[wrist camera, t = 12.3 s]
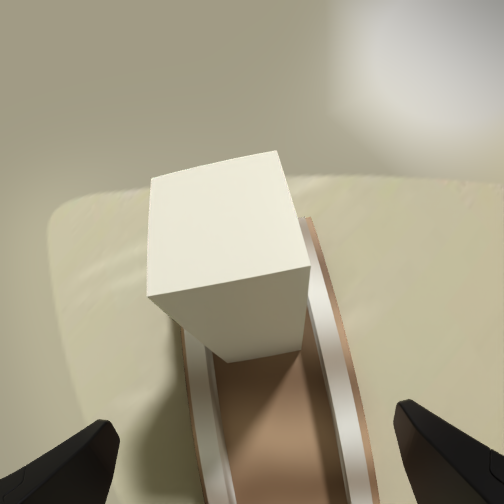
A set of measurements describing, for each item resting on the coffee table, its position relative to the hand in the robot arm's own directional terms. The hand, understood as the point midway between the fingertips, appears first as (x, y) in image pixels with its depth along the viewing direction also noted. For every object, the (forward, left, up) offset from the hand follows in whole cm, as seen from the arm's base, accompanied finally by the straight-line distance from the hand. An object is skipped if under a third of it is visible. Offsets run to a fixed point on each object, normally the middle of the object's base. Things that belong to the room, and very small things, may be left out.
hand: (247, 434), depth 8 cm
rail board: (+2, 0, -8) cm, 8 cm away
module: (+6, 0, -7) cm, 9 cm away
